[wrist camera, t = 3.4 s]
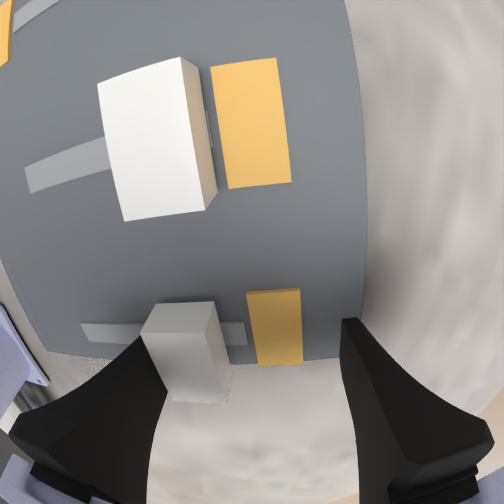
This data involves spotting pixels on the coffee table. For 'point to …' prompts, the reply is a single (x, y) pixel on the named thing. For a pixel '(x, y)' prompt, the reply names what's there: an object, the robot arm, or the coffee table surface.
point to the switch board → (225, 168)
